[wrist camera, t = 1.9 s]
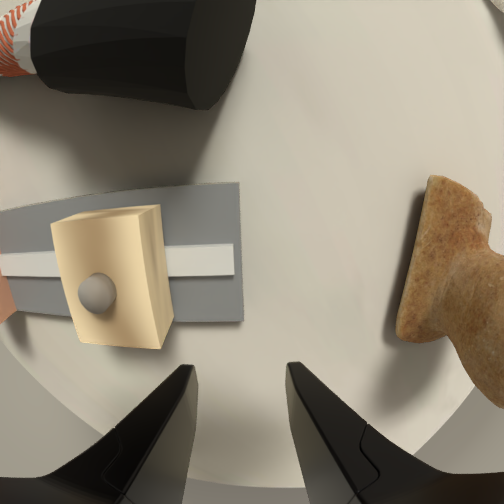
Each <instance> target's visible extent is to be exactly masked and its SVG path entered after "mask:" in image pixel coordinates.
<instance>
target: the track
mask: <svg viewBox="0 0 504 504" xmlns="http://www.w3.org/2000/svg"><path fill="white" fill-rule="evenodd" d="M158 204H160V207H161V219H162V230H163V239H164V248H165V257H166V265H167V273H168V280H169V287H170V294H171V300H172V306H173V313H174V318H173V320H172V322H230V321H244V303H243V279H242V253H241V225H240V195H239V182H224V183H204V184H188V185H174V186H162V187H151V188H141V189H131V190H122V191H114V192H106V193H98V194H91V195H84V196H77V197H71V198H65V199H58V200H53V201H47V202H41V203H36V204H31V205H26V206H21V207H16V208H11V209H7V210H2V211H0V324H1V323H2V322H3V321H5V320H6V319H7V318H8V317H9V316H10V315H12V314H13V313H14V312H15V311H17V310H19V311H26V312H34V313H42V314H51V315H61V316H71V313H70V310H69V306H68V303H67V299H66V296H65V292H64V288H63V284H62V280H61V276H60V272H59V268H58V263H57V258H56V254H55V248H54V243H53V237H52V231H51V225H50V224H51V223H54V222H57V221H59V220H62V219H64V218H67V217H70V216H72V215H75V214H78V213H81V212H85V211H93V210H102V209H112V208H122V207H133V206H145V205H158Z"/></svg>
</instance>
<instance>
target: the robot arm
mask: <svg viewBox="0 0 504 504" xmlns="http://www.w3.org/2000/svg"><path fill="white" fill-rule="evenodd" d="M285 386H286V395H287V404H288V413H289V422H290V428H291V433H292V437H293V440H294V444H295V448H296V452H297V456H298V460H299V464H300V467H301V471H302V475H303V479H304V483H305V486H306V490H307V494H308V498H309V501H310V504H504V472H497V473H484V474H483V473H482V474H451V473H446V472H442V471H440V470H437V469H435V468H433V467H431V466H429V465H428V464H426V463H424V462H423V461H421V460H419V459H417V458H416V457H414V456H413V455H411V454H409V453H408V452H406V451H404V450H403V449H401V448H400V447H398V446H397V445H395V444H394V443H392V442H391V441H389V440H388V439H387V438H386V437H384V436H383V435H382V434H380V433H379V432H378V431H377V430H376V429H374V428H373V427H372V426H371V425H370V424H367V422H366V421H365V420H364V419H363V418H361V417H360V416H359V415H358V414H357V413H356V412H355V411H354V410H352V409H351V408H350V407H349V406H348V405H347V404H346V403H345V402H343V401H342V400H341V399H340V398H339V397H338V396H337V395H336V394H335V393H333V392H332V391H331V390H330V389H329V388H328V387H327V386H326V385H325V384H324V383H323V382H321V381H320V380H319V379H318V378H317V377H316V376H315V375H314V374H313V373H312V372H311V371H310V370H309V369H308V368H306V367H305V366H304V365H303V364H302V363H301V362H288V363H287V365H286V380H285ZM197 401H198V381H197V376H196V371H195V367H194V365H188V364H182V365H180V366H179V367H178V368H177V369H176V370H175V371H174V372H173V373H172V374H171V375H169V376H168V377H167V378H166V379H165V380H164V381H163V382H162V383H161V384H160V385H159V386H158V387H157V388H156V389H155V390H154V391H153V392H152V393H150V394H149V395H148V396H147V397H146V398H145V399H144V400H143V401H142V402H141V403H140V404H139V405H138V406H137V407H136V408H134V409H133V410H132V411H131V412H130V413H129V414H128V415H127V416H126V417H125V418H124V419H122V420H121V421H120V422H119V423H118V424H117V425H116V426H115V428H112V429H111V430H110V431H109V432H108V433H107V434H106V435H105V436H103V437H102V438H101V439H100V440H99V441H97V442H96V443H95V444H94V445H92V446H91V447H90V448H88V449H87V450H86V451H84V452H83V453H81V454H80V455H78V456H77V457H75V458H74V459H72V460H71V461H69V462H68V463H66V464H65V465H63V466H62V467H60V468H59V469H57V470H55V471H54V472H52V473H50V474H47V475H45V476H42V477H36V478H9V477H0V504H182V499H183V494H184V489H185V483H186V478H187V472H188V467H189V462H190V457H191V451H192V446H193V441H194V436H195V430H196V417H197Z"/></svg>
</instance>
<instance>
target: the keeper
mask: <svg viewBox="0 0 504 504" xmlns="http://www.w3.org/2000/svg"><path fill="white" fill-rule="evenodd" d="M50 225H51V231H52V237H53V243H54V248H55V254H56V258H57V263H58V268H59V272H60V276H61V280H62V284H63V288H64V292H65V296H66V299H67V303H68V306H69V310H70V313H71V316H72V319H73V322H74V325H75V328H76V331H77V334H78V337H79V340H80V342H84V343H92V344H101V345H111V346H122V347H134V348H150V349H161V347H162V345H163V342H164V340H165V337H166V335H167V332H168V330H169V328H170V325H171V323H172V320H173V318H174V313H173V306H172V300H171V294H170V287H169V280H168V273H167V265H166V257H165V248H164V239H163V230H162V219H161V207H160V204H158V205H145V206H133V207H122V208H112V209H102V210H93V211H85V212H81V213H78V214H75V215H72V216H70V217H67V218H64V219H62V220H59V221H57V222H54V223H51V224H50Z"/></svg>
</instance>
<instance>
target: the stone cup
mask: <svg viewBox="0 0 504 504" xmlns="http://www.w3.org/2000/svg"><path fill="white" fill-rule="evenodd" d="M491 221H492V217H491V214H490V213H489V212H488V211H487V210H486V209H484V207H483V203H482V202H481V201H480V200H479V198H478V196H477V195H476V194H474V193H473V192H472V191H470V190H469V189H467V188H466V187H464V186H462V185H461V184H459V183H457V182H455V181H453V180H451V179H449V178H446V177H444V176H436V175H430V177H429V179H428V182H427V187H426V192H425V197H424V202H423V207H422V212H421V217H420V222H419V227H418V231H417V236H416V240H415V245H414V250H413V253H412V258H411V262H410V266H409V270H408V274H407V278H406V282H405V286H404V290H403V294H402V298H401V302H400V306H399V310H398V314H397V319H396V329H395V330H396V335H397V336H398V338H400V339H401V340H404V341H408V342H414V343H423V342H431V341H434V340H436V339H439V338H441V337H444V336H446V335H447V336H448V337H449V339H450V340H451V342H452V343H453V345H454V347H455V349H456V351H457V353H458V356H459V358H460V360H461V363H462V365H463V367H464V369H465V370H466V372H467V374H468V375H469V377H470V378H471V380H472V382H473V383H474V384H475V386H476V387H477V388H478V389H479V390H480V391H481V392H482V393H483V394H484V395H485V396H486V397H487V398H488V399H489V400H490V401H491V402H493V403H494V404H495V405H496V406H498V407H499V408H503V409H504V256H503V255H500V254H498V253H496V252H494V251H493V250H491V249H490V247H489V245H488V239H489V233H490V227H491Z"/></svg>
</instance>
